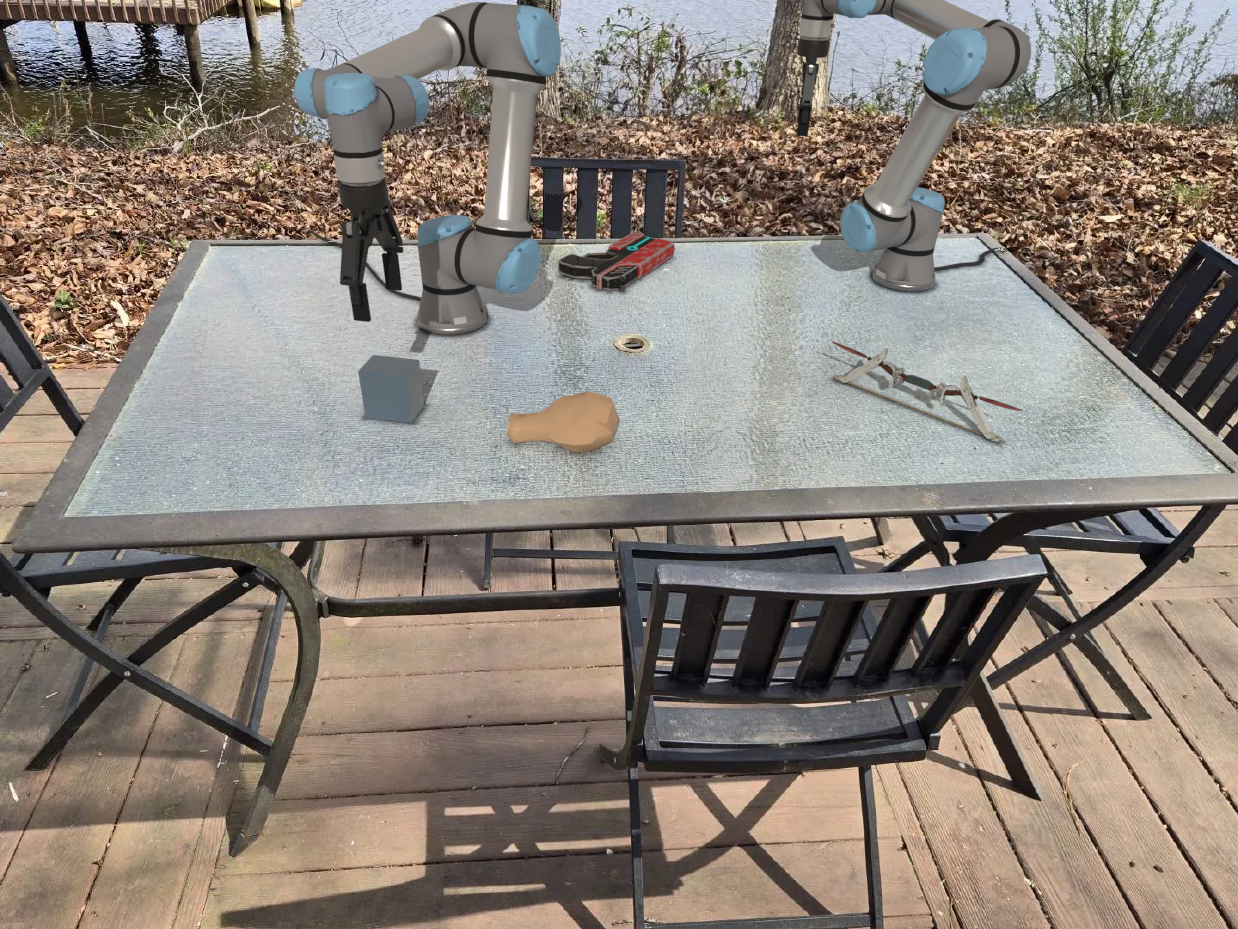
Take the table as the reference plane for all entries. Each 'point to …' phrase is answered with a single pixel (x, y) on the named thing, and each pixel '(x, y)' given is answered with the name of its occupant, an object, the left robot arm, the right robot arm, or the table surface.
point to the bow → (936, 391)
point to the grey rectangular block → (391, 388)
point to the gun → (618, 261)
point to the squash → (569, 423)
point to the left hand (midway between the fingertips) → (379, 304)
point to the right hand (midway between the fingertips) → (802, 129)
